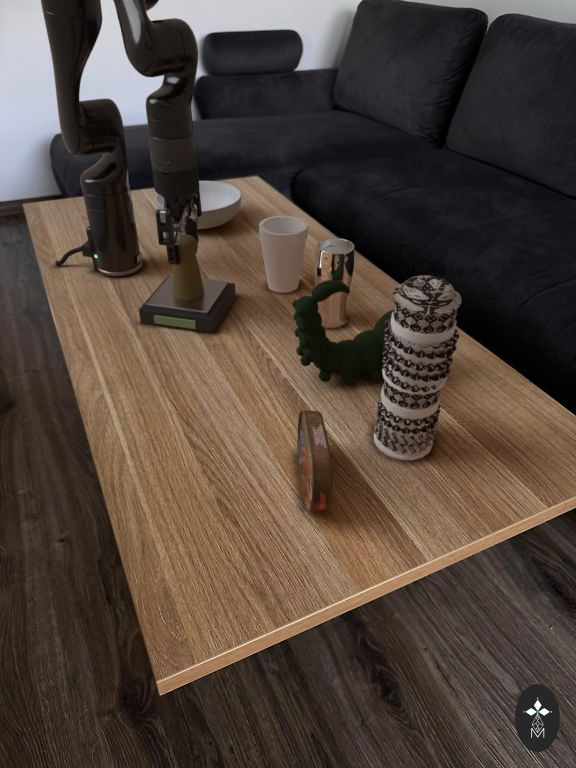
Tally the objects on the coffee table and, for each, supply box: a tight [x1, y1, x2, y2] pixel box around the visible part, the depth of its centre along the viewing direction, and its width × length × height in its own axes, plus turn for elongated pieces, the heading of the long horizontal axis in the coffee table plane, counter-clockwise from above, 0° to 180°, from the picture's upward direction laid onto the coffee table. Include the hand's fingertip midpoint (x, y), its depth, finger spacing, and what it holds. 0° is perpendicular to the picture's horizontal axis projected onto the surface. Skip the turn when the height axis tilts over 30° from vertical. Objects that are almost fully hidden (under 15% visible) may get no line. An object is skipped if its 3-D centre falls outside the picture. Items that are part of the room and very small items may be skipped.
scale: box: [138, 274, 237, 334], centre depth 113 cm, size 14×14×3 cm
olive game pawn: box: [172, 233, 204, 300], centre depth 108 cm, size 6×6×11 cm
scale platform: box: [146, 274, 230, 316], centre depth 112 cm, size 12×12×1 cm
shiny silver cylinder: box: [313, 237, 355, 329], centre depth 107 cm, size 7×7×15 cm
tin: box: [296, 409, 334, 513], centre depth 76 cm, size 15×3×8 cm, turn 5°
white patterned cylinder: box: [373, 274, 463, 461], centre depth 78 cm, size 9×9×25 cm
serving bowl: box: [154, 180, 243, 230], centre depth 146 cm, size 21×21×7 cm
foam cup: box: [258, 215, 309, 294], centre depth 118 cm, size 10×9×13 cm
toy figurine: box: [291, 280, 394, 386], centre depth 93 cm, size 9×19×25 cm
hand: (184, 253), depth 107 cm, fingers open, 8 cm apart
